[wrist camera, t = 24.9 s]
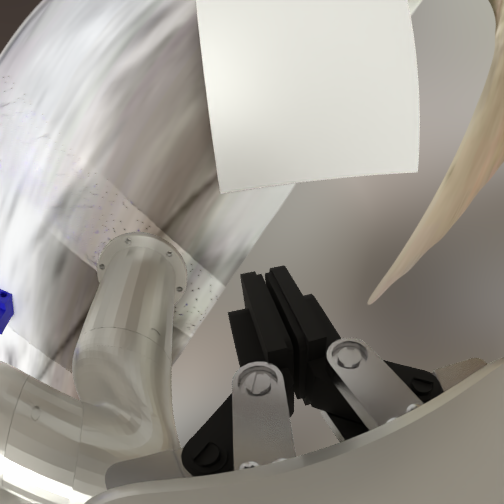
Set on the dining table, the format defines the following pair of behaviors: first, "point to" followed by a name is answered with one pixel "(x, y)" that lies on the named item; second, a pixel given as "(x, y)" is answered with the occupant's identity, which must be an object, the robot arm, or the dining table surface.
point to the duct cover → (309, 89)
